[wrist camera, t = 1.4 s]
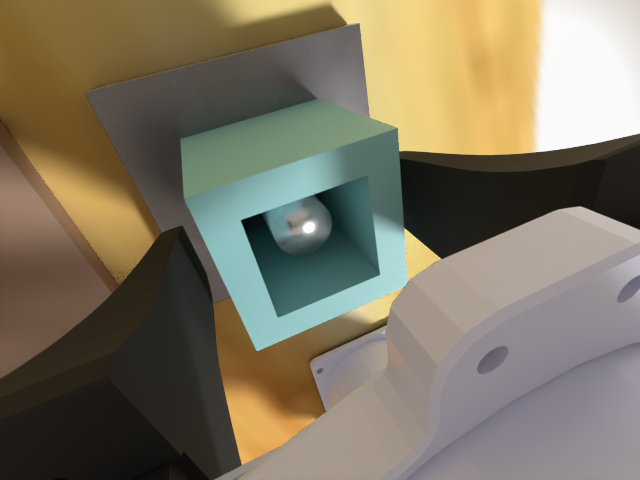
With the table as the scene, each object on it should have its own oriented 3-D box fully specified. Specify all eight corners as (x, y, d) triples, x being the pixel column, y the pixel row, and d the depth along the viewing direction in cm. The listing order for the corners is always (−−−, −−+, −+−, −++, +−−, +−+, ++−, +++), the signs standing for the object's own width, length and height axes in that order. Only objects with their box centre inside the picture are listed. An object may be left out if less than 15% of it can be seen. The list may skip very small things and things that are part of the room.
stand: (374, 228, 19) (434, 283, 15) (201, 295, 17) (211, 382, 13) (348, 24, 14) (433, 13, 9) (90, 89, 12) (38, 116, 7)
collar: (340, 215, 17) (407, 285, 12) (231, 256, 16) (256, 351, 11) (317, 98, 14) (397, 128, 9) (180, 139, 12) (183, 198, 8)
